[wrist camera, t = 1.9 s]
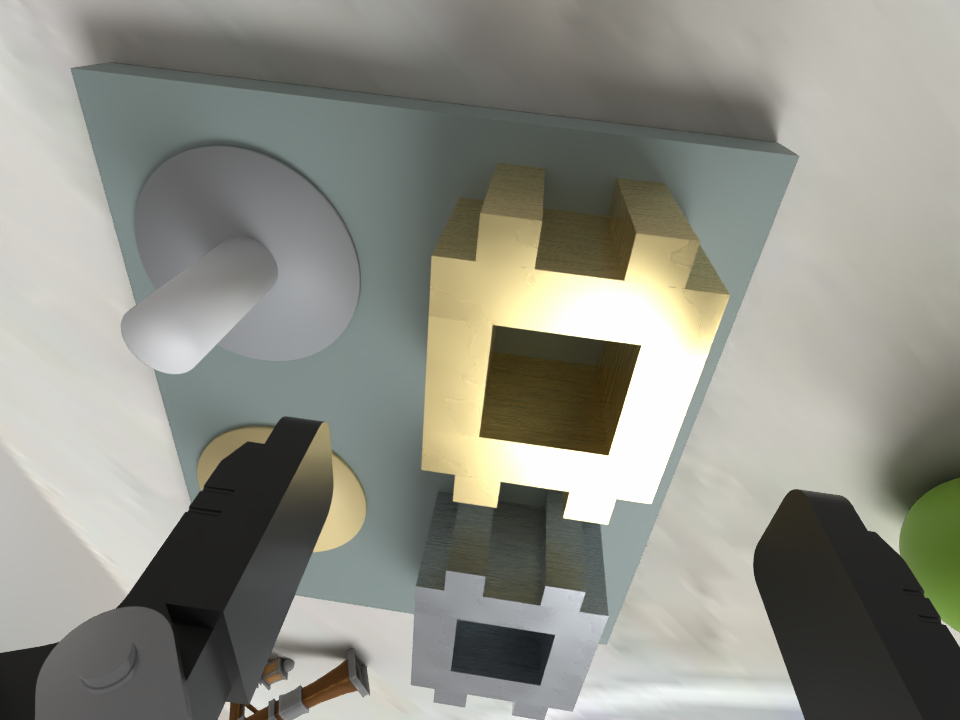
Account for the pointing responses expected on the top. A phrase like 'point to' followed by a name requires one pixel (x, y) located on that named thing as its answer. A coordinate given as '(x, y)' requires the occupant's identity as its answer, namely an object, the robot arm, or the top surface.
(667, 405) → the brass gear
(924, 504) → the snail figurine
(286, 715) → the brown grey angled piece
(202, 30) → the top surface
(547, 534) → the grey hollow block
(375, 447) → the gear board
